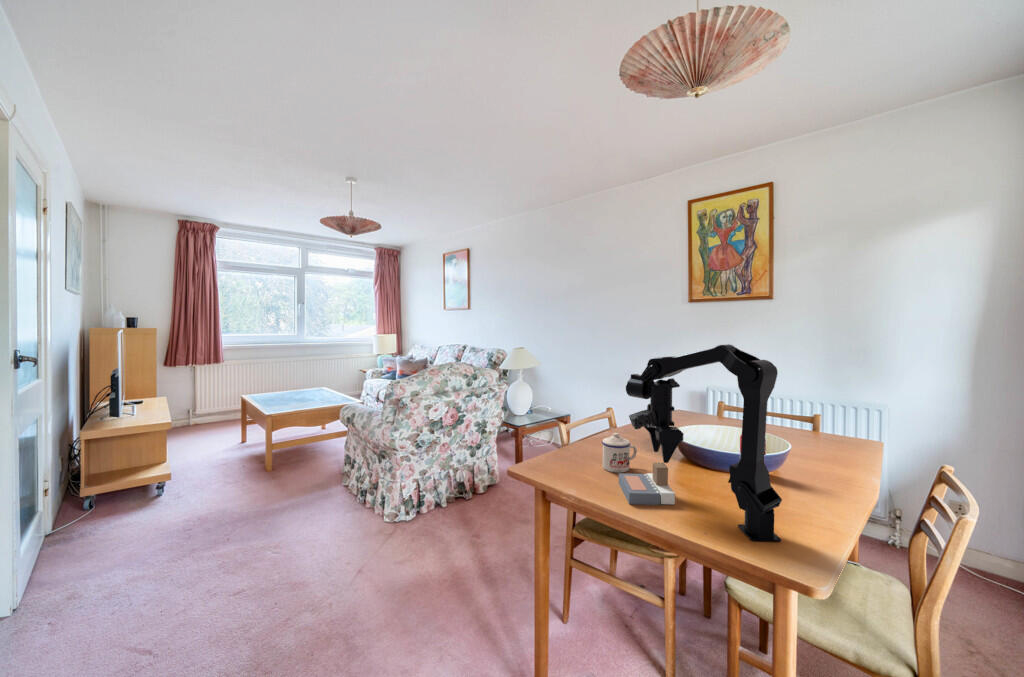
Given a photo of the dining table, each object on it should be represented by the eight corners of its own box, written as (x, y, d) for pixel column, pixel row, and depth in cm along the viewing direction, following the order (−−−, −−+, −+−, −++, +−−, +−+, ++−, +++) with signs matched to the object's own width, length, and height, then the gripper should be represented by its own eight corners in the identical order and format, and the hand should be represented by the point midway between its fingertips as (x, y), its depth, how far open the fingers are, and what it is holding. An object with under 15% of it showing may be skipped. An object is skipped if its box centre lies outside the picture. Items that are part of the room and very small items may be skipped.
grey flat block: (659, 504, 108) (659, 493, 108) (629, 504, 108) (629, 492, 108) (645, 483, 122) (645, 473, 122) (618, 483, 122) (618, 473, 122)
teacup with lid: (609, 474, 129) (609, 438, 129) (597, 464, 138) (597, 430, 138) (643, 471, 132) (643, 435, 132) (629, 461, 141) (629, 428, 140)
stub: (674, 504, 108) (675, 474, 107) (660, 504, 108) (661, 474, 108) (659, 483, 122) (659, 456, 121) (646, 483, 122) (647, 456, 122)
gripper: (624, 395, 123) (624, 446, 124) (640, 408, 105) (639, 468, 105) (662, 395, 123) (661, 447, 123) (684, 409, 104) (683, 469, 105)
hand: (660, 457), depth 114 cm, fingers open, 9 cm apart
